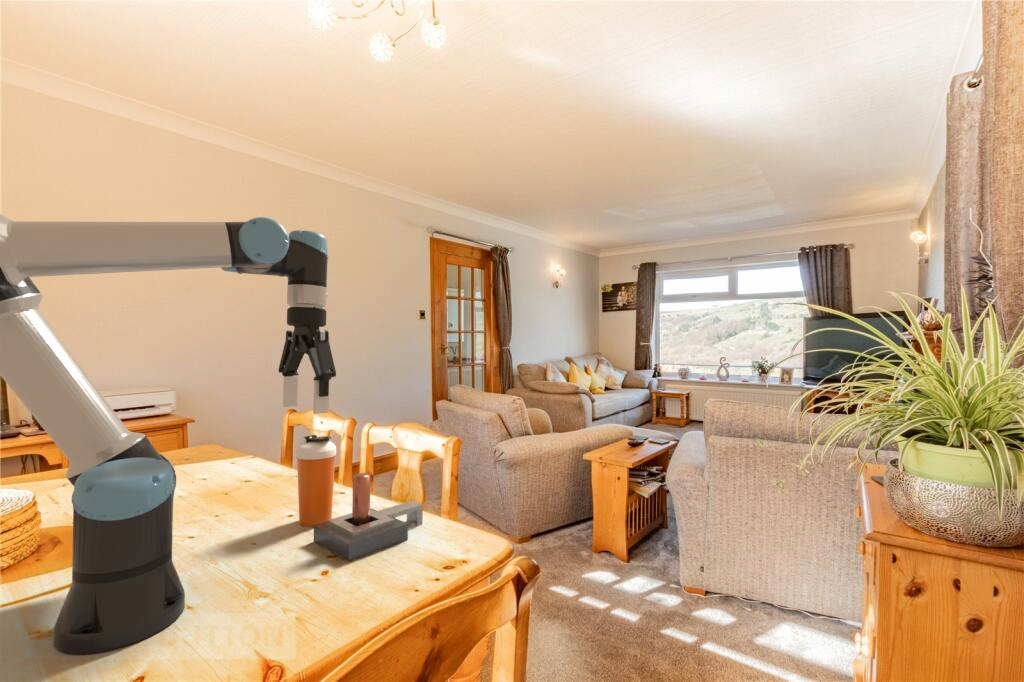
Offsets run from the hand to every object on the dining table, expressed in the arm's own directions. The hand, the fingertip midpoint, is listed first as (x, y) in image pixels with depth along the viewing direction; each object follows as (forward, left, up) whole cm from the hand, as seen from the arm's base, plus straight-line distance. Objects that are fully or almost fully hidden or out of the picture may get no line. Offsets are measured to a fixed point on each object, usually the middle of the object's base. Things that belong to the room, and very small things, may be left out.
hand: (304, 409), depth 98 cm
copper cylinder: (+10, -6, -29) cm, 31 cm away
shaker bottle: (+9, +12, -29) cm, 32 cm away
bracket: (+15, -6, -29) cm, 33 cm away
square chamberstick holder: (+10, -6, -29) cm, 31 cm away
